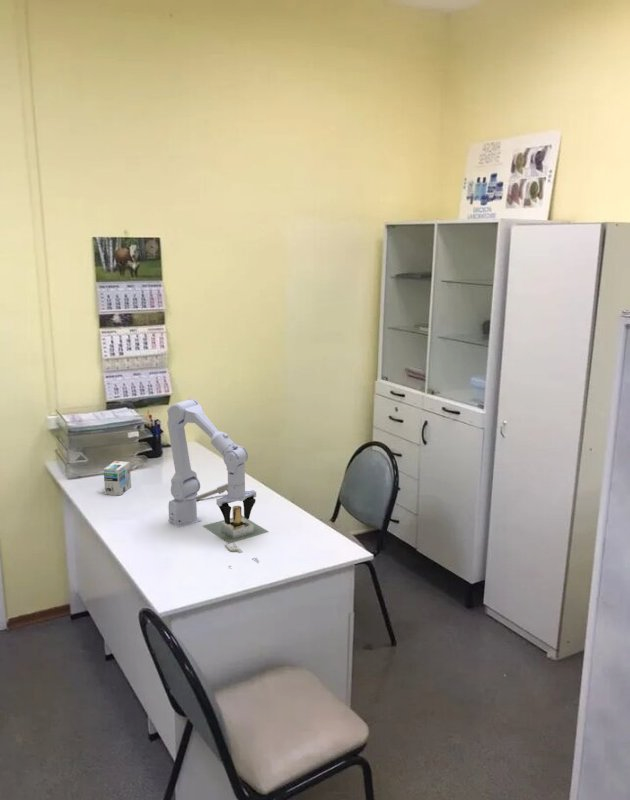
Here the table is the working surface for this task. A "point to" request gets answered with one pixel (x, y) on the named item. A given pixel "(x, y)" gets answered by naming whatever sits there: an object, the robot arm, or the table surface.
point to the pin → (237, 516)
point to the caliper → (213, 492)
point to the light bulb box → (117, 478)
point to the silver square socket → (237, 529)
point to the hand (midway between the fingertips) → (237, 520)
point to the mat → (217, 531)
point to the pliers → (236, 550)
